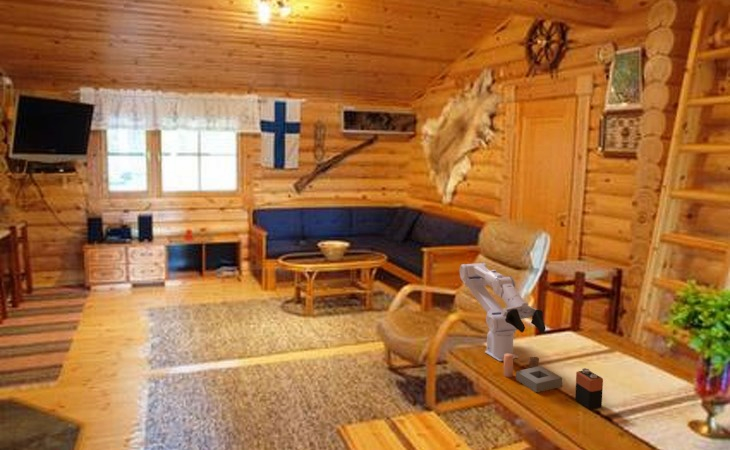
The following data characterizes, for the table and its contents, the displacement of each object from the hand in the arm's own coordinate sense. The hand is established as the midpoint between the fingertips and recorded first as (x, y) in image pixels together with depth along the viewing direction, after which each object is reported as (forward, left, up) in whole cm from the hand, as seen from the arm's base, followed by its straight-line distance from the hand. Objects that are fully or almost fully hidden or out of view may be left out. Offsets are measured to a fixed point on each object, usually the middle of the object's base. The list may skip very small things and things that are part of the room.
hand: (533, 330), depth 177 cm
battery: (+20, +4, -17) cm, 26 cm away
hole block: (+3, 0, -17) cm, 17 cm away
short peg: (-6, +6, -17) cm, 19 cm away
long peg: (-6, -5, -17) cm, 18 cm away
